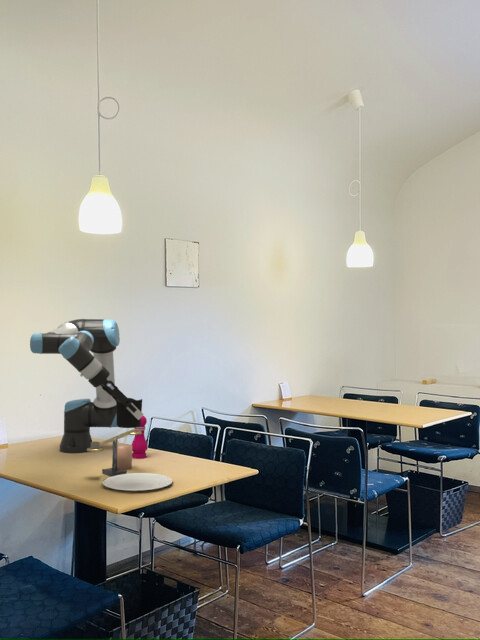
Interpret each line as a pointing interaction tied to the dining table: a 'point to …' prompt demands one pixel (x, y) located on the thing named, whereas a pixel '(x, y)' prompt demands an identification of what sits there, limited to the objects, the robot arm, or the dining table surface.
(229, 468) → the dining table surface
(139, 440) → the pepper mill
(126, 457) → the tan boxy piece
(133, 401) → the pen holder
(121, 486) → the plate
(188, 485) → the dining table surface
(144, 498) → the dining table surface
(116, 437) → the balance
